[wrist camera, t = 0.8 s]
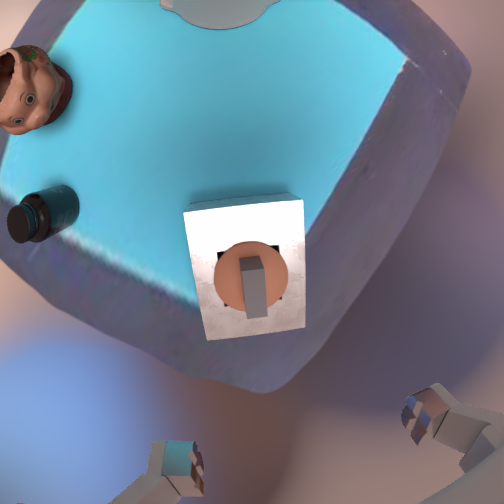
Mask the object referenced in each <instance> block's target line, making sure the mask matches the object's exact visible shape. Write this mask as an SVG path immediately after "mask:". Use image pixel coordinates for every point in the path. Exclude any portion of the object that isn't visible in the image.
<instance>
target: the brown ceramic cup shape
mask: <svg viewBox="0 0 504 504" xmlns="http://www.w3.org/2000/svg"><path fill="white" fill-rule="evenodd" d="M71 93H72V81H71V79H70V77H69V75H68V74H67V73H66V72H65V70H63V69H62V68H61V67H60V66H58V65H56V64H54V63H53V62H51V61H50V58H49V56H48V55H47V53H46V52H45V51H43V50H42V49H41V48H39V47H36V46H32V45H25V46H20V47H17V48H8V49H6V50H3V51H2V52H1V53H0V127H4V128H5V130H6V131H8V132H9V133H11V134H13V135H22V134H25V133H27V132H29V131H31V130H33V129H37V128H39V127H41V126H43V125H47V124H50V123H52V122H53V121H54V120H55V119H56V118H57V117H58V116H59V115H60V114H61V113H62V112H63V110H64V109H65V107H66V106H67V104H68V102H69V99H70V96H71Z"/></svg>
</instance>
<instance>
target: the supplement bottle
mask: <svg viewBox="0 0 504 504" xmlns="http://www.w3.org/2000/svg"><path fill="white" fill-rule="evenodd" d="M78 211H79V205H78V200H77V197H76V195H75V193H74V192H73V191H72V190H71V189H70V188H68V187H66V186H56V187H52V188H48V189H44V190H41V191H37V192H33V193H30V194H28V195H26V196H25V197H24V198H23V199H22V201H21V202H20V204H19V205H16V206H14V207H12V209H10V211H9V214H8V217H7V226H8V231H9V233H10V235H11V237H12V238H13V240H15V242H17V243H24V242H27V241H31V242H41V241H44V240H45V239H47V238H49V237H51V236H53V235H55V234H56V233H58V232H60V231H62V230H64V229H66V228H67V227H69V226H71V225H72V224H73V223H74V222H75V220H76V218H77V216H78Z"/></svg>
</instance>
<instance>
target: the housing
mask: <svg viewBox="0 0 504 504" xmlns="http://www.w3.org/2000/svg"><path fill="white" fill-rule="evenodd" d="M184 219H185V226H186V232H187V238H188V245H189V251H190V257H191V262H192V268H193V274H194V279H195V284H196V290H197V295H198V300H199V305H200V310H201V314H202V319H203V324H204V329H205V333H206V338H207V340H215V339H225V338H234V337H243V336H251V335H258V334H265V333H272V332H279V331H285V330H292V329H298V328H304V327H305V237H304V211H303V200H302V199H300V198H299V197H297V196H295V195H293V194H291V193H279V194H267V195H257V196H247V197H237V198H228V199H220V200H211V201H203V202H196V203H190V205H189V206H188V207H187V209H186V210H185V211H184ZM244 242H260V243H264V244H267V245H269V246H271V247H272V248H274V249H275V250H276V251H277V252H279V254H280V255H281V256H282V258H283V259H284V261H285V263H286V265H287V269H288V284H287V287H286V289H285V292H284V293H283V295H282V296H281V297H280V299H279V300H278V301H277V302H276V303H274V304H273V305H271V306H270V307H268V308H267V312H268V317H260V318H253V319H247V316H246V312H244V311H239V310H236V309H234V308H231V307H230V306H228V305H227V304H225V303H224V302H223V301H222V300H221V299H220V297H219V296H218V294H217V292H216V290H215V286H214V271H215V267H216V264H217V262H218V260H219V259H220V257H221V256H222V255H223V254H224V253H225V252H226V251H227V250H228V249H230V248H231V247H233V246H235V245H237V244H240V243H244Z"/></svg>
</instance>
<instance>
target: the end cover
mask: <svg viewBox="0 0 504 504" xmlns="http://www.w3.org/2000/svg"><path fill="white" fill-rule="evenodd" d="M287 284H288V269H287V265H286V263H285V261H284V259H283V258H282V256H281V255H280V254H279V252H277V251H276V250H275V249H274V248H272V247H271V246H269V245H267V244H264V243H260V242H244V243H240V244H237V245H235V246H233V247H231V248H230V249H228V250H227V251H226V252H225V253H224V254H223V255H222V256H221V257H220V259H219V260H218V262H217V264H216V267H215V271H214V286H215V290H216V292H217V294H218V296H219V297H220V299H221V300H222V301H223V302H224V303H225V304H227V305H228V306H230V307H231V308H234V309H236V310H239V311H244V312H246V316H247V319H253V318H260V317H268V312H267V308H268V307H270V306H271V305H273V304H274V303H276V302H277V301H278V300H279V299H280V297H281V296H282V295H283V293H284V292H285V289H286V287H287Z"/></svg>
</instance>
